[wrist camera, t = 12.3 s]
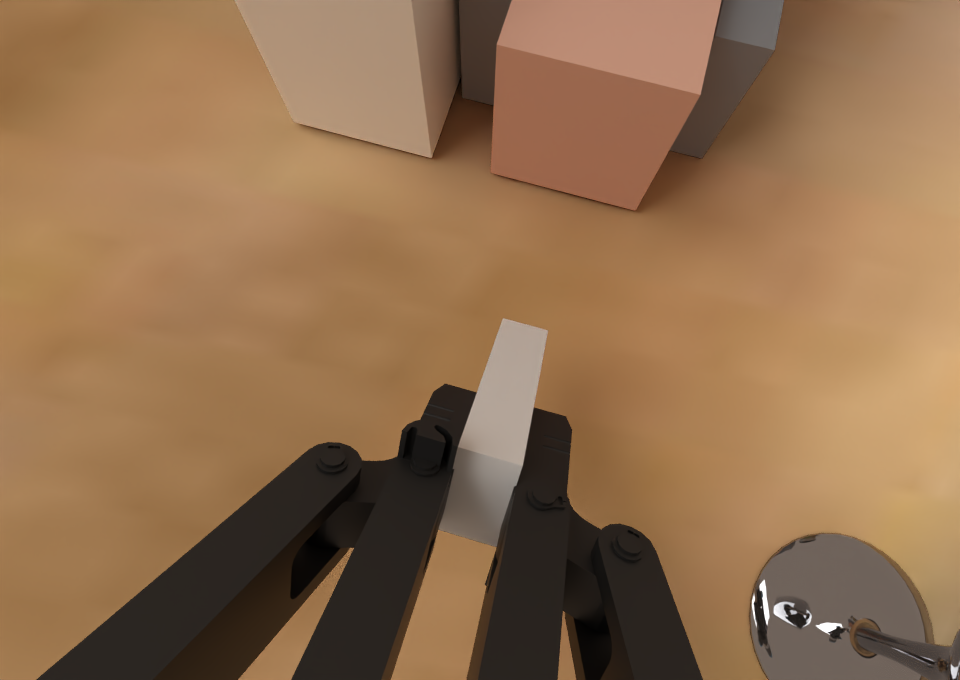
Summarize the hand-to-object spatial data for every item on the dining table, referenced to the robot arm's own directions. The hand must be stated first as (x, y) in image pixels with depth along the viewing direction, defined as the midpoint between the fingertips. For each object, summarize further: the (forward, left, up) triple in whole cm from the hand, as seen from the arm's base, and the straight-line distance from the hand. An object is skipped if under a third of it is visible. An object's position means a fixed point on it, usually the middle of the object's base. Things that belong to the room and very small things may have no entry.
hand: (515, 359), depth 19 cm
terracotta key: (0, +13, -6) cm, 14 cm away
